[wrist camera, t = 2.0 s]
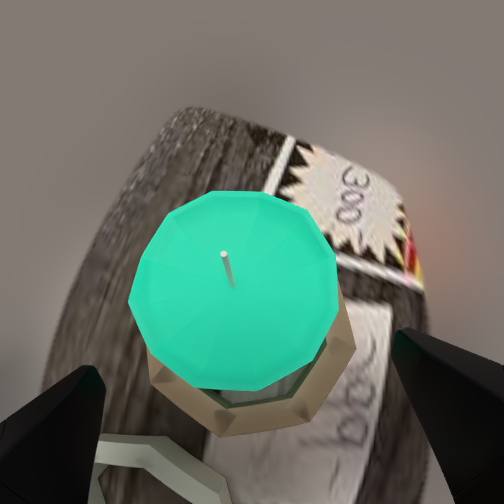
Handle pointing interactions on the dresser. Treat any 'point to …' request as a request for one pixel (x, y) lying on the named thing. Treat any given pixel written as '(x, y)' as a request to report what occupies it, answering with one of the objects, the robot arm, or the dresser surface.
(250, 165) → the dresser surface
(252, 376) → the candle
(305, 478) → the dresser surface
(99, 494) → the socket
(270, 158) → the dresser surface
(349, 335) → the socket
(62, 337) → the dresser surface
